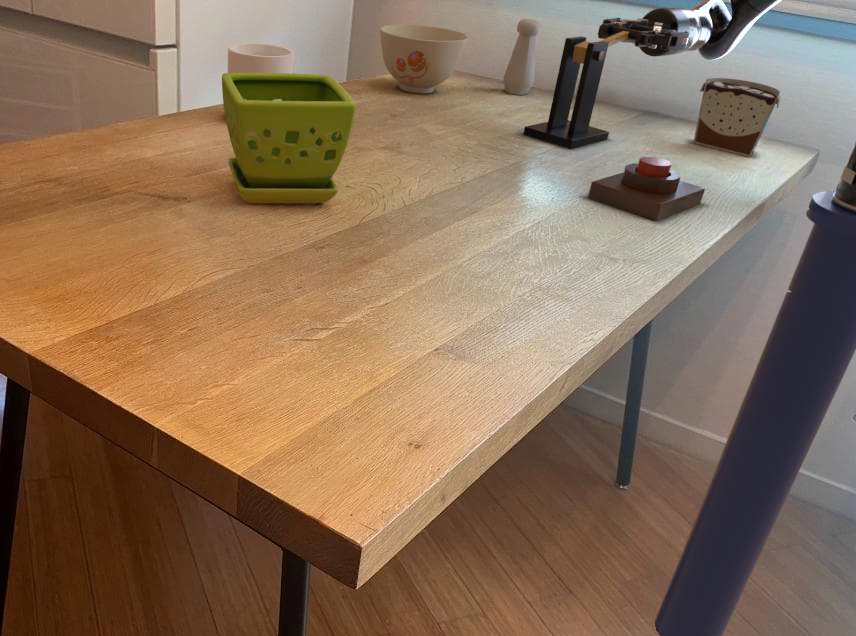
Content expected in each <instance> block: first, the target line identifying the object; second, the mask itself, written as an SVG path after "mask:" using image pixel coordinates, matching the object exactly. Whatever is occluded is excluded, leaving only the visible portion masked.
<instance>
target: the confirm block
mask: <svg viewBox="0 0 856 636" xmlns="http://www.w3.org/2000/svg"><path fill="white" fill-rule="evenodd" d="M637 167H638V163H630V164H626V165H625V166H624V170H623V172H620V173H617V174H613V175H609V176H606V177H603V178H599V179H597V180H593V181H591V183H590V187H589V191H588V195H587V198H588V199H590V200H594V201H596V202H600V203H601V204H605V205H608V206H611V207H614V208H617V209H620V210H623V211H625V212H629V213H632V214H634V215H637V216H641V217H642V218H643V217H644V218H647V219H649V220H653V221H655V222H656V221H660V220H662V219H664V218H668V217H670V216H672V215H675V214H678V213H681V212H683V211H685V210H688V209H691V208H693V207H696V206H700V205H701V203H702V200H703V197H704V193H705V190H706V188H705V187H703V186H700V185H699V186H698V185H696V184H694V183H693V184H692V183H689V182H685V181H683V180H681V174H680V173H679V172H677V171H675V170H673V169H672V168H670V171H669V175H668V177H654V176H648V175H645V174H642V173H639V172H637Z"/></svg>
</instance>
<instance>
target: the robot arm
mask: <svg viewBox="0 0 856 636" xmlns="http://www.w3.org/2000/svg"><path fill="white" fill-rule="evenodd" d="M781 1H782V0H729V4H730V10H731V14H730V12H729V11H728V9H727V7H726V5H725V3H724V1H722V0H701V1H700V2H698V3H696V5H694V6H693V7H692V8H685V7H658V8H654V9H652V10H650V11H648V12H647V13H646V14H645V15H644V16H643V17H642V18H637V19H630V18H629V19H628V18H624V19H622V18H621V17H613V18H605V19H603V20H602V23H601V25H599V28H598V31H597V38H598V39H601V40H603V39H606V38H608V37H610V36H611V35H609V29H610V27H611V26H616V27H621V28H626V29H631V30H636V31H640V32H638V34H637V38H636V40H631V39H625V40H623V41H621V42H620V43H625V44H627V43H629V44H632V45H634V46H635V47H637V48H639V49H640V50H641V52H642V53H643V54H645V55H647V56H648V57H663V56H674V55H678V54H681V53H687V52H694V51H698V53H699V55H700V56H701V57H702V58H703V59H704V60H708V61H714V60H718V59H721V58H723V57H724V56H726V55H727V54H729V53H730V52H731V51H733V49H734V48H735V47H736V46H737V44H738V43H739V42H740V41H741V40H742V38H743V37H744V36H745V34H746V33H747V32H748V31H749V29H750V28H751V27H752V26H753V25H754V24H755V22H756V21H757V20H759V18H760V17H762V16H763V15H764V14H766V13H767V12H768V11H769V10H771V8H773V7H774V6H776V5H777V4H778V3H780V2H781ZM834 191H835V193H834V194H833V197H832V199H831V201H832V203H833V204H834V205H836V206H837V207H839V208H841V209H843V210H846V211H848V212H851V213H854V214H856V141H855V142H854V144H853V147H852V150H851V152H850V155H849V157H848V159H847V162H846V165H845V166H844V168H843V171H842V173H841V176H840V179H839V181H838V183H837V186H836V189H835V190H834Z"/></svg>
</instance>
